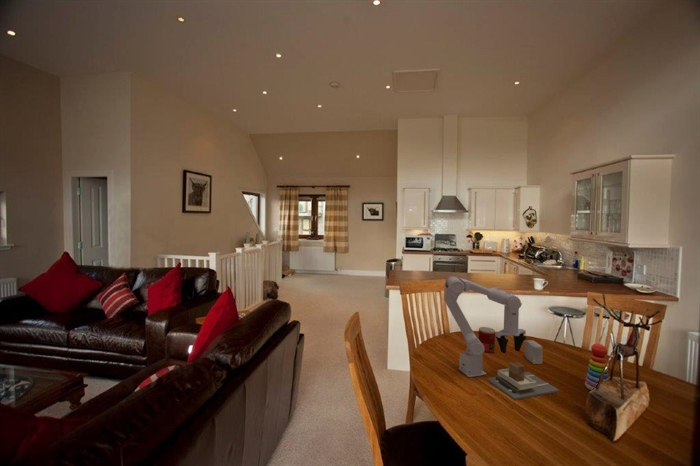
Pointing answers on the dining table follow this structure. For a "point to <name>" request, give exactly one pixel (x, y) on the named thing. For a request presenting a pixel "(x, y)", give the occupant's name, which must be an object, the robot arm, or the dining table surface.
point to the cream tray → (521, 384)
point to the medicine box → (533, 351)
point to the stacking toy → (596, 366)
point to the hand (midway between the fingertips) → (510, 351)
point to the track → (524, 393)
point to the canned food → (487, 339)
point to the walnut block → (516, 371)
